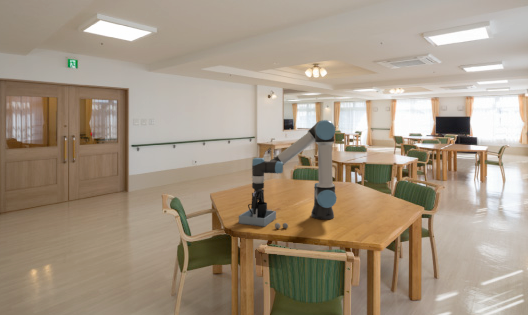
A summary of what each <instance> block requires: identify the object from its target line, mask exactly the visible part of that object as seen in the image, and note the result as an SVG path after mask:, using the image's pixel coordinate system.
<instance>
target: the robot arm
mask: <svg viewBox="0 0 528 315" xmlns="http://www.w3.org/2000/svg"><path fill="white" fill-rule="evenodd" d="M335 135H336V126H335V125H334V123H333V122H332V121H330V120H328V119H324V120H323V119H322V120H318V121H317V122H316V123H315V124H314V125H313V126H312V127H311V128H309V129H308V130H307V133H306V134H304V135H302V136H301V137H300V138H299V139H297V140H296V141H294V142H293V143H292V144H291V145H289V146H288V147H287V148H286V149H284V150H283V151H281V152H280V153H278V155H276V156H275V157H274V158H272V159H271V160H269V161H267V160H265V158H264V157H254V158H252V162H251V163H252V165H251V166H252V168H251V174H252V175H251V179H252V180H251V181H252V183H251V184H252V185H251V187H252V188H251V189H253V192H251V203H250V204H251V205H250V209H253V217H256V218H257V204H258V202H265V196H264V195H265V193H264V192H265V174H277V175H278V174H283V172H284V165H286V164H287V163H288V162H289V161H291V160H292V159H294V158H295V157H296V156H297V155H299V154H300V153H302V152H303V151H305V150H306V149H307V148H309V147H310V146H312V144H314V143H316V145H317V158H318V159H317V162H318V163H317V170H318V182H315V183H314V193H313V194H314V199H313V200H314V201H313V207H312V210H311V215H310V216H311V218H314V219H317V220H332V219H334V218H335V214H334V209H333V206H335V204H336V203H337V198H338V197H337V194H336V184H334V183H333V180H334V179H333V144H334V143H335Z"/></svg>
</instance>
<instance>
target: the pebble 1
mask: <svg viewBox="0 0 528 315" xmlns="http://www.w3.org/2000/svg"><path fill="white" fill-rule="evenodd" d="M274 228H275V229H276V230H279V229H280V228H281V224H280V222H276V223H275V224H274Z"/></svg>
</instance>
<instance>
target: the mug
mask: <svg viewBox="0 0 528 315" xmlns="http://www.w3.org/2000/svg"><path fill="white" fill-rule="evenodd" d="M251 204H252V203H249V204H248V205H247V207H248V210H250V212H251V213H252V211H251ZM267 209H268V203H267V202H265V201H264V202H259V201H258V204H257V218H265V215H266V211H267ZM252 215H253V213H252Z"/></svg>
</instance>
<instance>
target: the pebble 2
mask: <svg viewBox="0 0 528 315" xmlns="http://www.w3.org/2000/svg"><path fill="white" fill-rule="evenodd" d="M288 227H289V224H288V223H287V222H284V223H283V224H282V228H284V229H288Z"/></svg>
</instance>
